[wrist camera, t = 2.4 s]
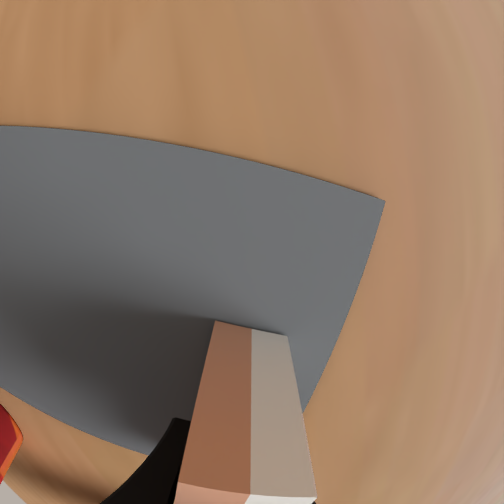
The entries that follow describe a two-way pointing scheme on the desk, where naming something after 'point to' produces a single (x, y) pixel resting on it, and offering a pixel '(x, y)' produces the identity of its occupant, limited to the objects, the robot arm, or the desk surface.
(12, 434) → the paper cup
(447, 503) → the desk surface
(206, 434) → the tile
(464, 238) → the desk surface
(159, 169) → the mat
